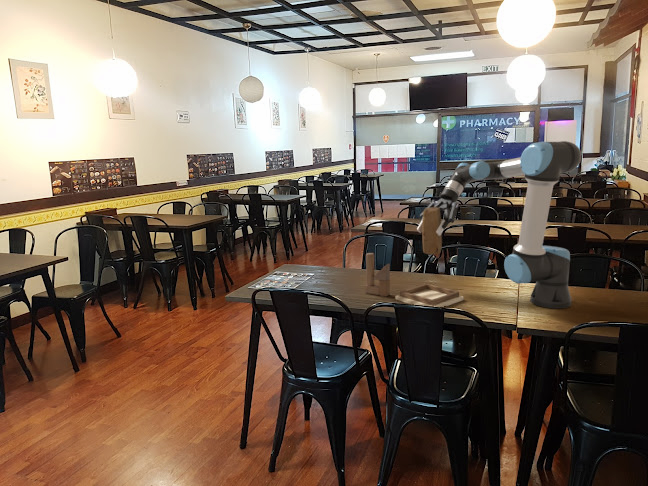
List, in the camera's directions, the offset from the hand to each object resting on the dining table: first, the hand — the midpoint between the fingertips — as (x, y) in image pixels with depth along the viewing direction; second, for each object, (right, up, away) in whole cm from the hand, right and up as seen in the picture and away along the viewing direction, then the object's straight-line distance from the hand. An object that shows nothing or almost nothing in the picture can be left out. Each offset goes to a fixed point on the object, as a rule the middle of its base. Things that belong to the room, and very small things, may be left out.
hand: (428, 232), depth 214 cm
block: (+3, -9, +4) cm, 10 cm away
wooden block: (-22, -27, +3) cm, 35 cm away
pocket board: (-1, -29, -7) cm, 29 cm away
